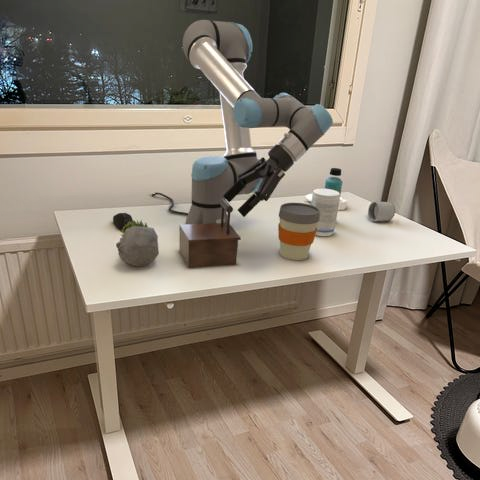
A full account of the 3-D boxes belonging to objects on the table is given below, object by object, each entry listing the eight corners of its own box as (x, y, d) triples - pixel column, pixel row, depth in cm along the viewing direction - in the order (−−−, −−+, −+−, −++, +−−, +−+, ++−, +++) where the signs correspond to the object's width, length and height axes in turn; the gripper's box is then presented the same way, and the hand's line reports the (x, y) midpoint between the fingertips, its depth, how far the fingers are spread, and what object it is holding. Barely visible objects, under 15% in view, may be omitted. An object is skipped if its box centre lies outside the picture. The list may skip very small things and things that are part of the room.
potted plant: (114, 263, 129) (97, 231, 137) (145, 280, 140) (128, 249, 148) (144, 231, 127) (125, 201, 135) (174, 251, 137) (154, 222, 145)
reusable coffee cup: (282, 263, 145) (288, 215, 138) (268, 247, 156) (273, 202, 148) (319, 261, 149) (327, 214, 141) (304, 246, 159) (310, 202, 151)
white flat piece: (300, 199, 206) (326, 196, 213) (325, 212, 193) (353, 208, 200) (301, 191, 205) (327, 189, 211) (327, 203, 192) (354, 200, 198)
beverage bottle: (317, 223, 181) (326, 169, 170) (319, 217, 186) (327, 165, 176) (335, 225, 180) (344, 171, 169) (336, 220, 185) (345, 167, 175)
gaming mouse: (119, 235, 156) (118, 223, 154) (111, 220, 168) (110, 209, 166) (138, 233, 158) (138, 222, 156) (129, 219, 170) (129, 208, 168)
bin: (224, 248, 152) (225, 225, 148) (236, 264, 142) (238, 240, 138) (179, 251, 148) (179, 227, 144) (188, 268, 138) (188, 242, 134)
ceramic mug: (394, 223, 187) (398, 203, 183) (376, 224, 184) (380, 204, 181) (379, 214, 195) (383, 196, 192) (361, 215, 193) (365, 196, 189)
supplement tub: (339, 235, 171) (346, 194, 163) (319, 238, 166) (326, 197, 159) (321, 226, 178) (327, 187, 170) (301, 229, 173) (307, 189, 165)
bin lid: (228, 225, 148) (229, 195, 144) (240, 239, 138) (243, 209, 134) (179, 227, 144) (179, 197, 139) (188, 242, 134) (189, 210, 129)
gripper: (262, 134, 144) (212, 185, 147) (297, 152, 124) (238, 211, 127) (276, 153, 148) (228, 201, 151) (312, 173, 128) (255, 229, 131)
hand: (232, 206), depth 139 cm, fingers open, 13 cm apart
